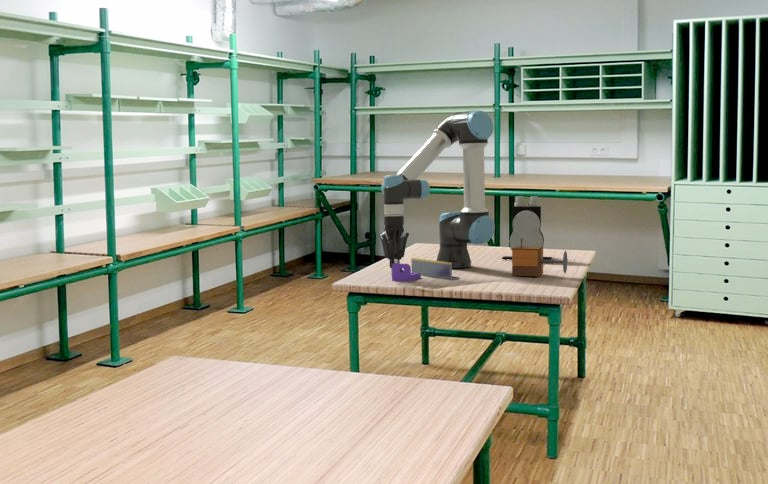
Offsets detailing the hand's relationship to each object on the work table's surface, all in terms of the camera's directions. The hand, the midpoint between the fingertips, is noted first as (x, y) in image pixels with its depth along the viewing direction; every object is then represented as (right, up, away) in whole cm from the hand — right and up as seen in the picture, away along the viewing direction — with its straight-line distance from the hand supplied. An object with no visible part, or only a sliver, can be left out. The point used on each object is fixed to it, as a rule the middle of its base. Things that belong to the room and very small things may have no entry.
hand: (394, 276), depth 331 cm
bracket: (+5, -2, 0) cm, 5 cm away
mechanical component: (+61, +4, +60) cm, 86 cm away
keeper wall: (+16, 0, +8) cm, 18 cm away
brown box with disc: (+58, 0, +11) cm, 59 cm away
